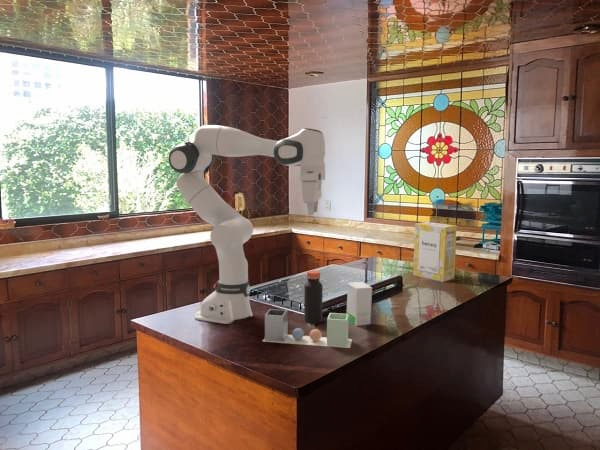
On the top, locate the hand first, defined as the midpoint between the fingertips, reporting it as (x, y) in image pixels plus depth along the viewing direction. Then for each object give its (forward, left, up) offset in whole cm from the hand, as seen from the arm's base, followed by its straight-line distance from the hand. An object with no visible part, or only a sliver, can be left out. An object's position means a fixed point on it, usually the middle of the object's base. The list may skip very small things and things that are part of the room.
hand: (312, 213), depth 170 cm
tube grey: (-10, -15, -41) cm, 45 cm away
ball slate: (-2, -15, -41) cm, 44 cm away
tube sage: (+11, -15, -41) cm, 45 cm away
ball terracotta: (+4, -15, -41) cm, 44 cm away
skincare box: (+17, +7, -43) cm, 46 cm away
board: (+1, -15, -43) cm, 45 cm away
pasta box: (+51, +88, -43) cm, 110 cm away
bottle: (0, +5, -43) cm, 43 cm away
